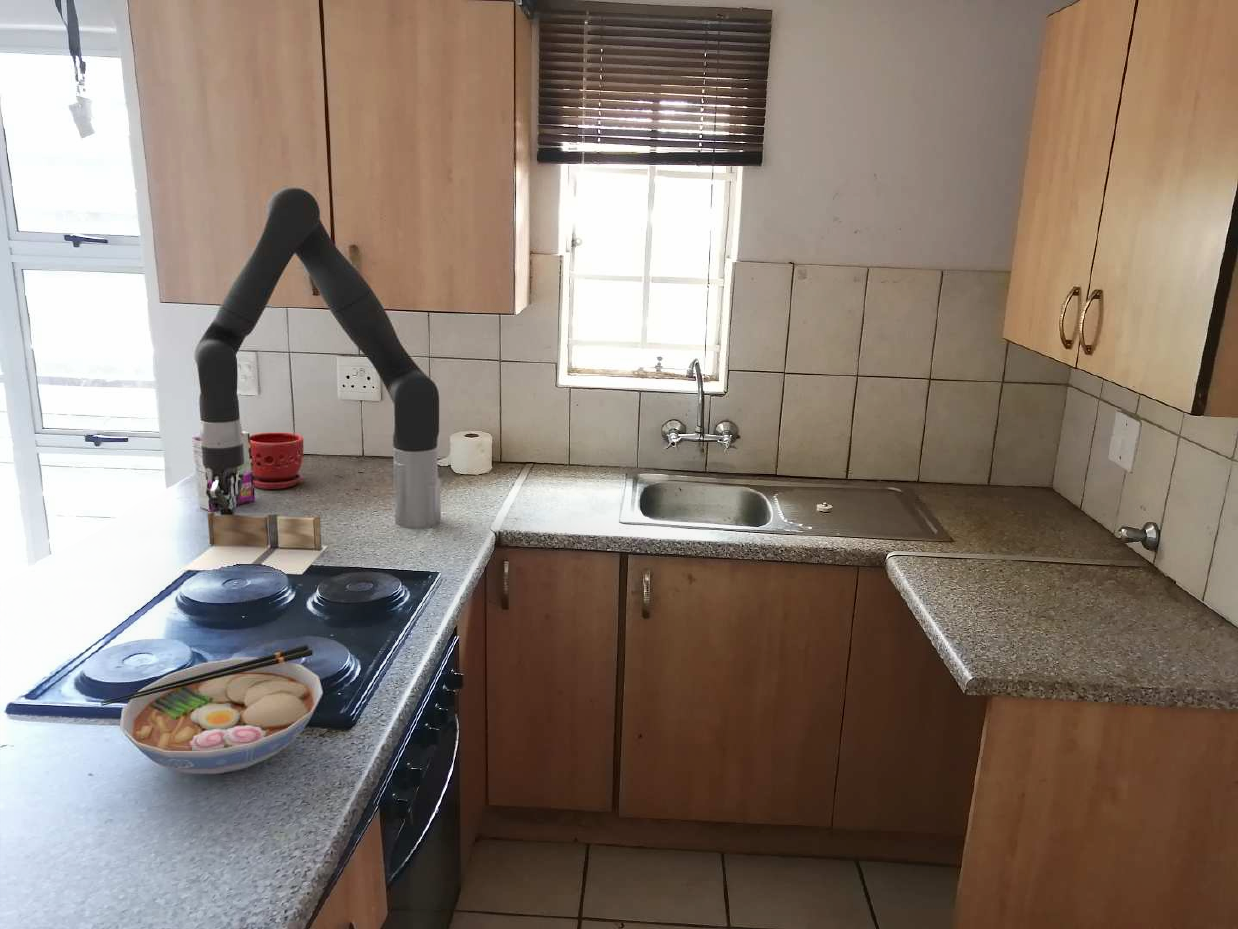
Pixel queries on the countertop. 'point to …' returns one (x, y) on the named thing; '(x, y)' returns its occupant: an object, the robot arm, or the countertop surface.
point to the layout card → (257, 557)
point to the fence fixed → (295, 532)
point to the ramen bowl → (222, 712)
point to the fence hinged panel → (238, 530)
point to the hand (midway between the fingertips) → (228, 525)
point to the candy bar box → (205, 474)
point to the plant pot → (276, 459)
